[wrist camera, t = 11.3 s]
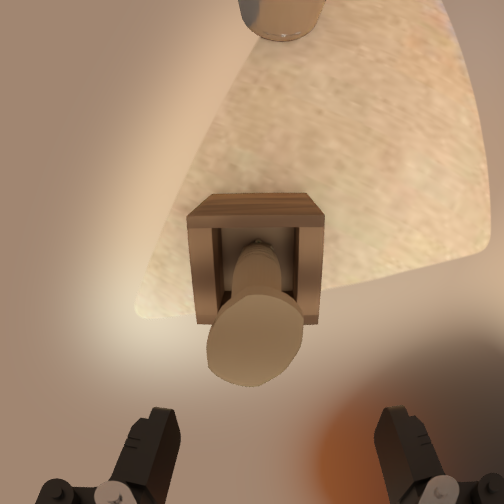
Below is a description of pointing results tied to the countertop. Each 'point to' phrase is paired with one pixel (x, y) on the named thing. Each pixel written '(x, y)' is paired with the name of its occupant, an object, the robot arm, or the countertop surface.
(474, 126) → the countertop surface
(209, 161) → the countertop surface
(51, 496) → the robot arm
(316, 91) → the countertop surface
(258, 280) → the handle
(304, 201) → the wooden box
